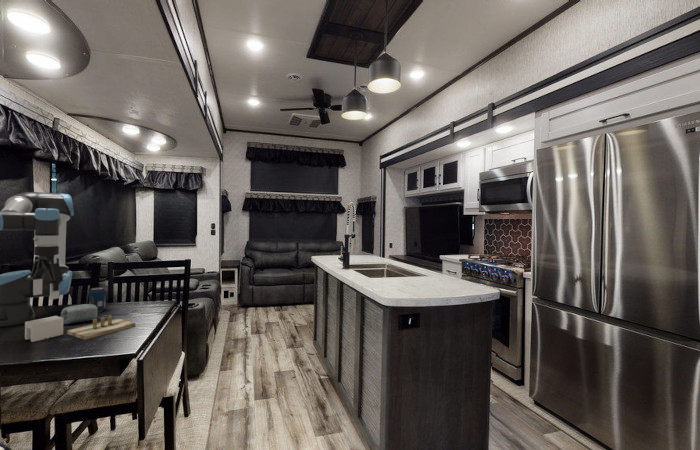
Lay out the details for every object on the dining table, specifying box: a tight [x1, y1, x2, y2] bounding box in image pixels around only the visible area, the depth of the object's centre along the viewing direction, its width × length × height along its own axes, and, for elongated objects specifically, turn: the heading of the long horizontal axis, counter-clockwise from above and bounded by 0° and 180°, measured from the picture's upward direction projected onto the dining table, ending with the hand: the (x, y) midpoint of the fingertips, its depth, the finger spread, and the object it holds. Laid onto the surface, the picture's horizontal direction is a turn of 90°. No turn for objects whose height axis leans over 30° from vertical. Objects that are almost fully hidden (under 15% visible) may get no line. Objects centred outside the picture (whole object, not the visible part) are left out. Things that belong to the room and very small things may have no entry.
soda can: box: [88, 286, 107, 313], centre depth 174 cm, size 7×7×12 cm
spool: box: [60, 303, 99, 325], centre depth 156 cm, size 14×10×10 cm
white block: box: [24, 315, 64, 343], centre depth 136 cm, size 6×10×7 cm, turn 154°
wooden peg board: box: [66, 315, 136, 341], centre depth 146 cm, size 14×20×6 cm
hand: (45, 296), depth 136 cm, fingers open, 13 cm apart
